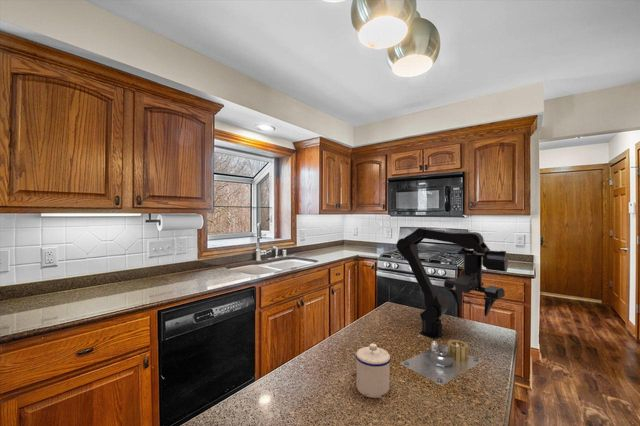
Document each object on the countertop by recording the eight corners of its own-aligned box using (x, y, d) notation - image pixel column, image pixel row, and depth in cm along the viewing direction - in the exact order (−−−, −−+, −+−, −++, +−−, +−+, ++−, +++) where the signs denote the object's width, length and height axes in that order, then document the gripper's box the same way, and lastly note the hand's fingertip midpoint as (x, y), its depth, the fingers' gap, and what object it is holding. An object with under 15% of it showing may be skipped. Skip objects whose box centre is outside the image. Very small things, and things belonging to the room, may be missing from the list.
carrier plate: (399, 365, 89) (399, 351, 89) (441, 346, 102) (441, 333, 102) (441, 388, 78) (441, 371, 78) (483, 363, 91) (483, 349, 91)
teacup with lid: (397, 392, 76) (398, 347, 76) (371, 403, 71) (371, 356, 71) (367, 370, 86) (367, 331, 86) (342, 379, 81) (342, 337, 81)
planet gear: (443, 355, 94) (444, 342, 94) (453, 350, 98) (453, 338, 98) (462, 363, 89) (462, 350, 89) (471, 357, 93) (471, 344, 93)
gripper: (435, 266, 106) (435, 309, 106) (489, 275, 91) (489, 325, 91) (452, 263, 112) (451, 303, 112) (505, 271, 97) (505, 318, 97)
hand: (472, 312), depth 103 cm, fingers open, 9 cm apart
